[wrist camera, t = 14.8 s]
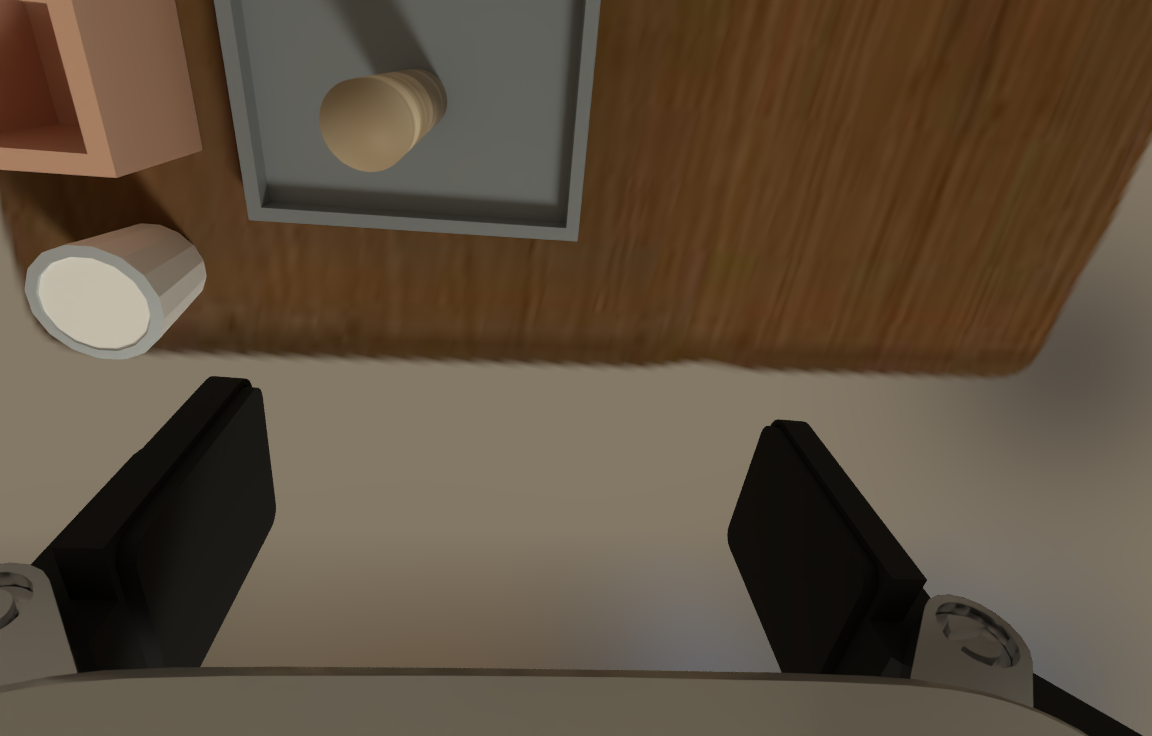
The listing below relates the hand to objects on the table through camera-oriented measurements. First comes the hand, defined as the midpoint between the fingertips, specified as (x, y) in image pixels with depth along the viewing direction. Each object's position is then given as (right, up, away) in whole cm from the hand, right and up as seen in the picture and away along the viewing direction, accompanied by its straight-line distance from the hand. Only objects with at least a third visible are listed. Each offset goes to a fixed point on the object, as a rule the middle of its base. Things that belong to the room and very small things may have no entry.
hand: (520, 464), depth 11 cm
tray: (-8, +18, +25) cm, 32 cm away
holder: (-25, +19, +22) cm, 39 cm away
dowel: (-8, +18, +24) cm, 31 cm away
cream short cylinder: (-26, +9, +28) cm, 39 cm away
